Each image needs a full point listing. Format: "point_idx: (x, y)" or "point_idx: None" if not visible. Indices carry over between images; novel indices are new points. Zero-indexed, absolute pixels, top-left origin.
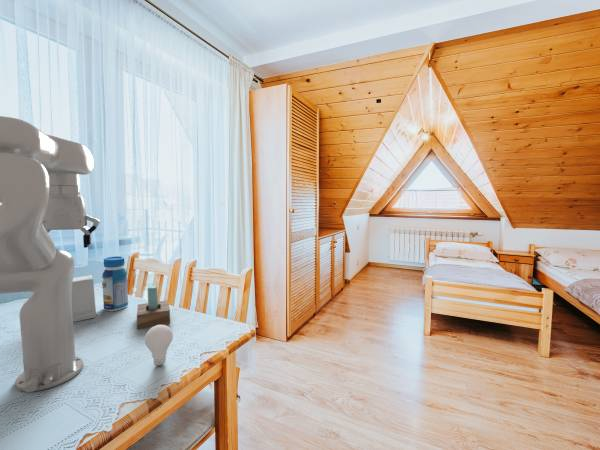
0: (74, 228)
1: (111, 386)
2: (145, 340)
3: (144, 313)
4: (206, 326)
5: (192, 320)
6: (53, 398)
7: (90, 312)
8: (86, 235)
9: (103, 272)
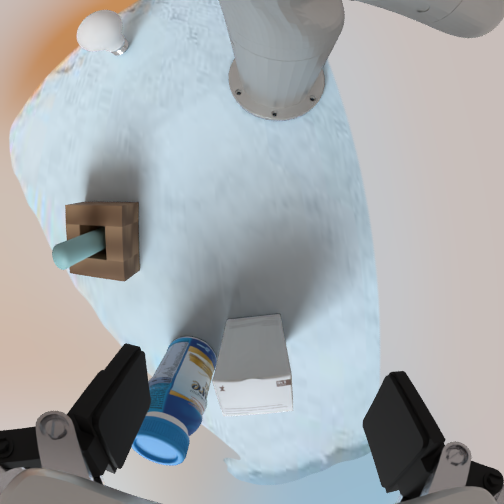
0: (114, 499)
1: (188, 19)
2: (118, 18)
3: (107, 208)
4: (41, 161)
5: (54, 199)
6: None
7: (235, 325)
8: (83, 423)
9: (194, 423)
